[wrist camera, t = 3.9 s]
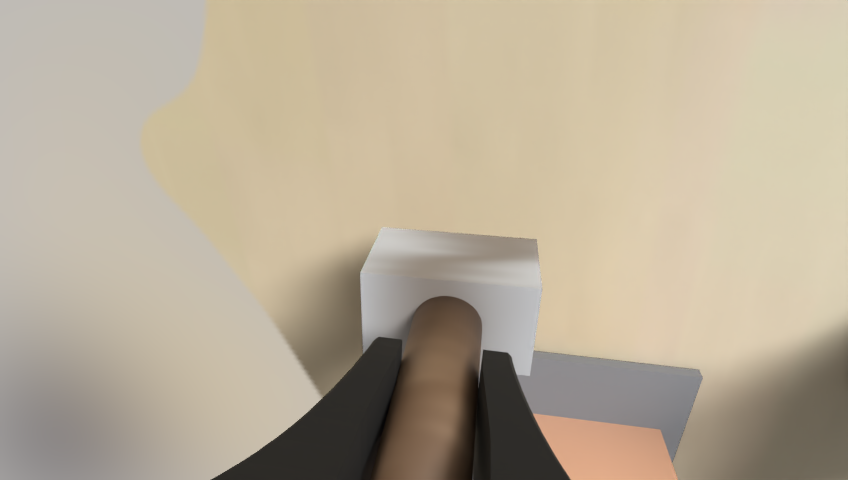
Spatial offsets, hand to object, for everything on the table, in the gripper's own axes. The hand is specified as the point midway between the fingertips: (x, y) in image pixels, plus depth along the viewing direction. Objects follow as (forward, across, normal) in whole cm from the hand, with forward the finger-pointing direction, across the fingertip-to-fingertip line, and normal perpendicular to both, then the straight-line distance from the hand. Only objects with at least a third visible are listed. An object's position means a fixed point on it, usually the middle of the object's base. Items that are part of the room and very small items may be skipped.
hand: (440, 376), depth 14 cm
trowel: (+5, 0, 0) cm, 5 cm away
